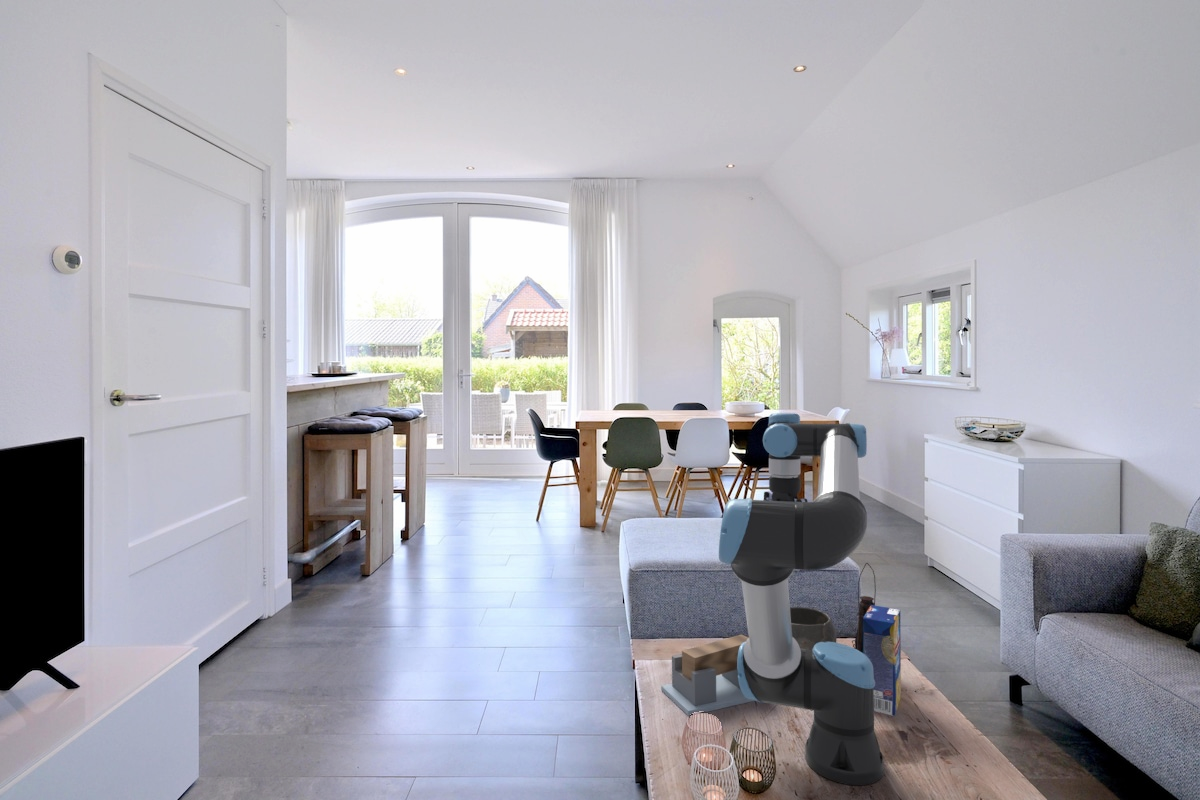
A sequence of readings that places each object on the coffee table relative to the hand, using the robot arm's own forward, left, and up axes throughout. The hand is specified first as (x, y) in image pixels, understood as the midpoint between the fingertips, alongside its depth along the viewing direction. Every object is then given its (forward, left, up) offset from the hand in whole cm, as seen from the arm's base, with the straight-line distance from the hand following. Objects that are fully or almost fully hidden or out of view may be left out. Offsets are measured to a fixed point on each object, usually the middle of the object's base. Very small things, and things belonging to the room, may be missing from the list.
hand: (785, 561), depth 156 cm
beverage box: (-10, -21, -35) cm, 42 cm away
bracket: (+10, +13, -35) cm, 38 cm away
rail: (+10, +13, -29) cm, 33 cm away
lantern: (+4, -30, -35) cm, 46 cm away
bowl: (+18, -20, -35) cm, 44 cm away
